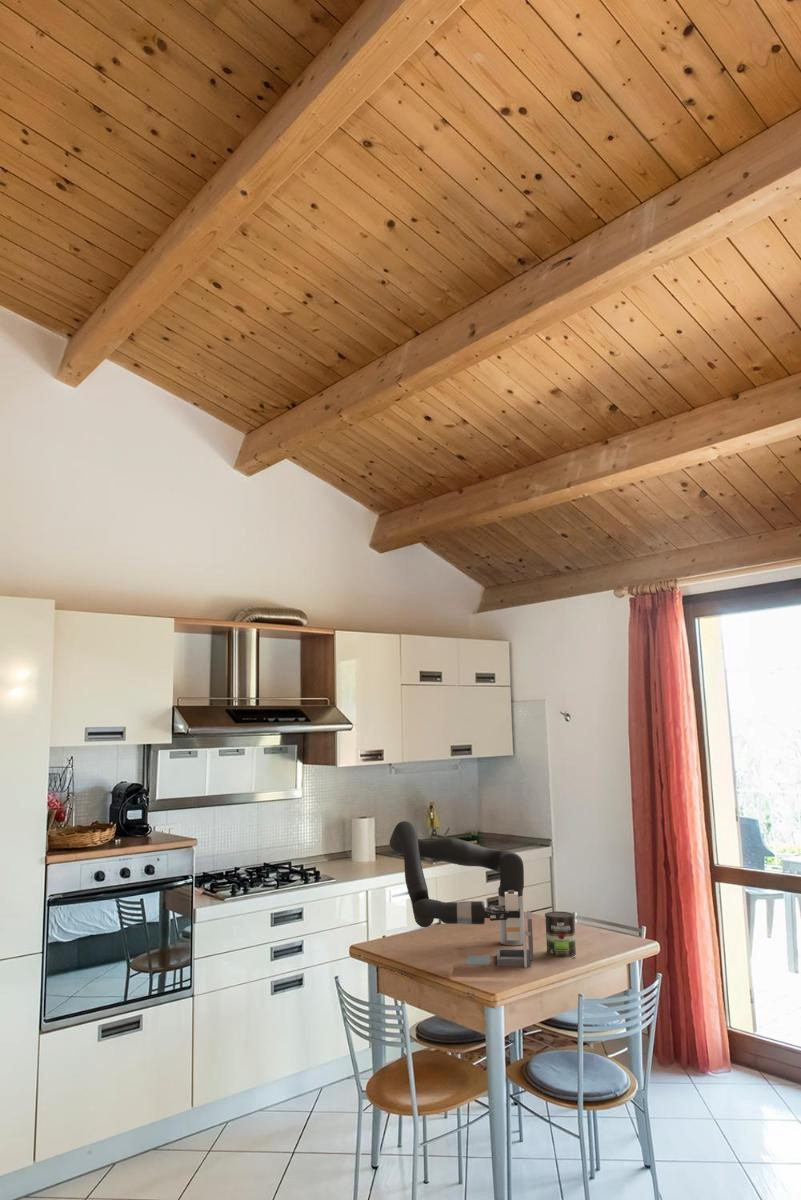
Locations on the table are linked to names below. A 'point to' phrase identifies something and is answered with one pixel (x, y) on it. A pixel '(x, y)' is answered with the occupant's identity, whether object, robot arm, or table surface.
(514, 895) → the white bottle
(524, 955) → the grey dispenser stand
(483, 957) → the mat
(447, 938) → the table surface
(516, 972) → the table surface
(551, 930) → the coffee can
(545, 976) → the table surface
